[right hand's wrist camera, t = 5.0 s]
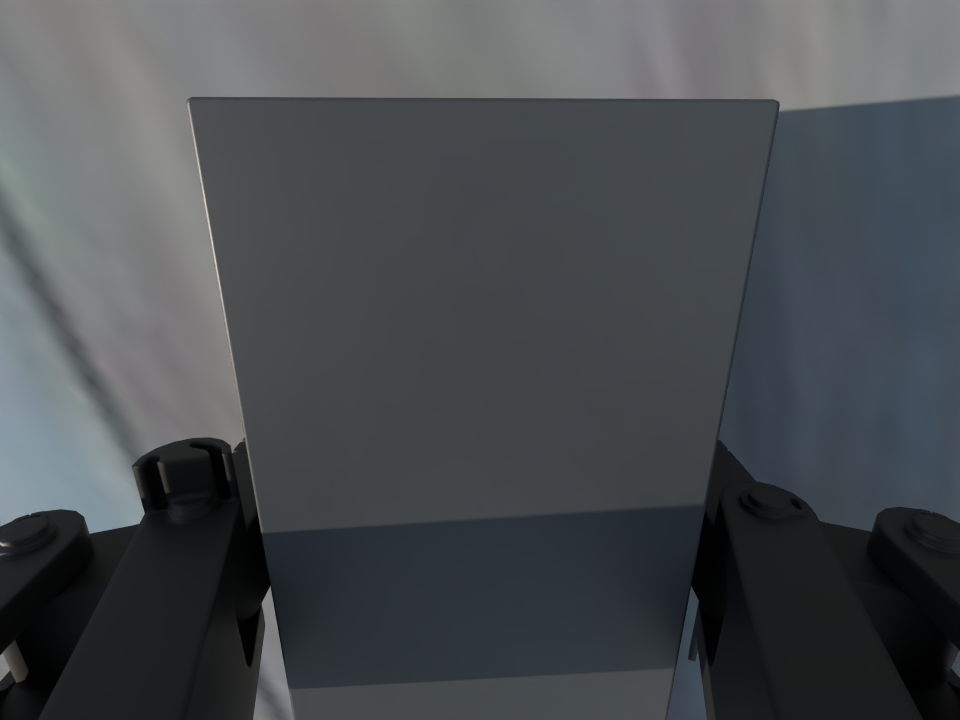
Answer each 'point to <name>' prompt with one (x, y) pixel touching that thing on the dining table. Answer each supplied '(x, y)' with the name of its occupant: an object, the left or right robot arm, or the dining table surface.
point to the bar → (481, 385)
